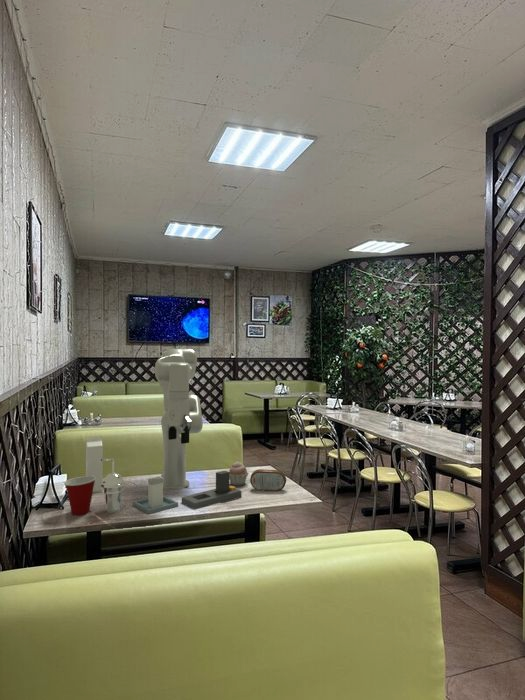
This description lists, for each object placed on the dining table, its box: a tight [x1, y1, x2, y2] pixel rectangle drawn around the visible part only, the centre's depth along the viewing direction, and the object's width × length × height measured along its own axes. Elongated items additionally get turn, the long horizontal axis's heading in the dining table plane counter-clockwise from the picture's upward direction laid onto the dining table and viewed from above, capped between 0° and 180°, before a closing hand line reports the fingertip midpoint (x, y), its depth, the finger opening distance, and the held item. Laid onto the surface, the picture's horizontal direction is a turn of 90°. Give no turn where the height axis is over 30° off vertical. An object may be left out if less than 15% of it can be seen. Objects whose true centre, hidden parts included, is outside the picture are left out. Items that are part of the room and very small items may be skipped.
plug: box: [147, 476, 164, 508], centre depth 167 cm, size 3×4×10 cm
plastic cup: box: [63, 475, 96, 516], centre depth 161 cm, size 11×11×12 cm
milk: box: [85, 436, 104, 493], centre depth 187 cm, size 6×6×22 cm
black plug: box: [215, 470, 230, 494], centre depth 178 cm, size 3×4×10 cm
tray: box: [132, 495, 179, 515], centre depth 167 cm, size 12×12×2 cm
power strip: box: [181, 485, 242, 510], centre depth 175 cm, size 9×22×3 cm, turn 132°
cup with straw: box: [101, 458, 127, 513], centre depth 162 cm, size 8×9×20 cm
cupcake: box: [228, 460, 250, 487], centre depth 196 cm, size 9×9×10 cm
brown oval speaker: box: [249, 468, 287, 492], centre depth 188 cm, size 15×3×8 cm, turn 84°
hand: (178, 441), depth 170 cm, fingers open, 9 cm apart
